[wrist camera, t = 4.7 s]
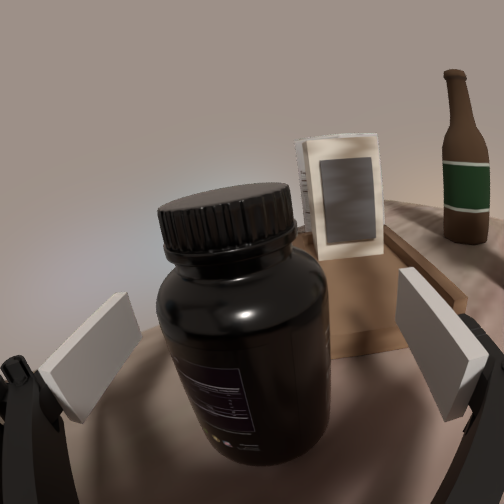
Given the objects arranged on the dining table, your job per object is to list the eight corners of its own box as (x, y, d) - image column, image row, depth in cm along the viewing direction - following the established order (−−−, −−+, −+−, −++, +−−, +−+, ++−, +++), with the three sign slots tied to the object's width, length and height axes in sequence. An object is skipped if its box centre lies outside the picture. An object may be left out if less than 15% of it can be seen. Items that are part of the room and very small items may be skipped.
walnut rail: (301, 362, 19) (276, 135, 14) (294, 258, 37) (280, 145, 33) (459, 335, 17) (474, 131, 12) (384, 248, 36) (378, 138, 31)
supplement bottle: (253, 368, 19) (221, 182, 15) (349, 399, 15) (350, 175, 11) (179, 433, 14) (99, 217, 10) (283, 493, 10) (235, 215, 6)
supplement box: (342, 225, 49) (334, 136, 44) (386, 234, 41) (379, 132, 37) (303, 239, 44) (291, 139, 40) (348, 250, 37) (339, 132, 32)
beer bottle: (496, 245, 30) (486, 68, 22) (449, 246, 33) (435, 62, 25) (478, 229, 36) (468, 78, 29) (437, 229, 39) (424, 75, 32)
